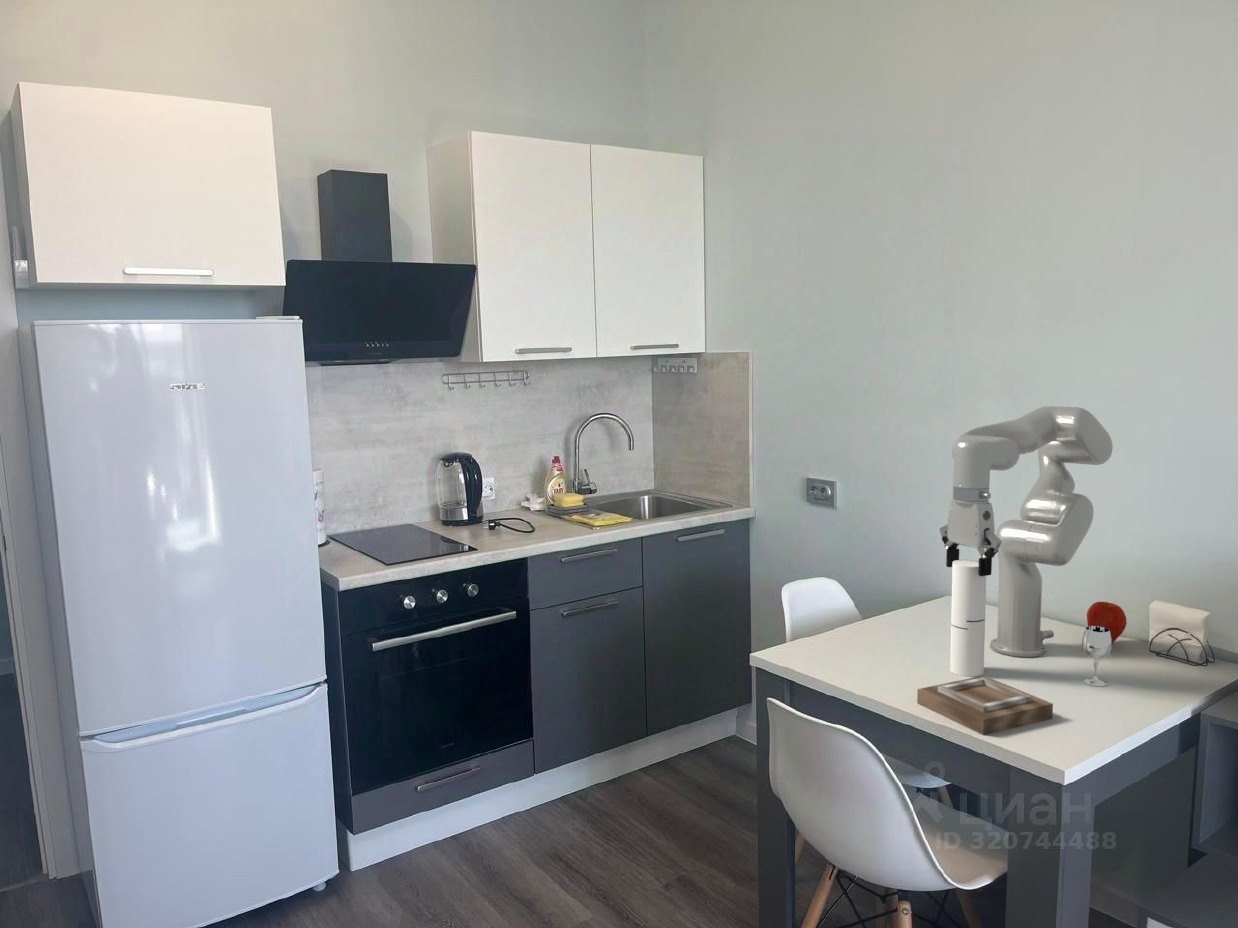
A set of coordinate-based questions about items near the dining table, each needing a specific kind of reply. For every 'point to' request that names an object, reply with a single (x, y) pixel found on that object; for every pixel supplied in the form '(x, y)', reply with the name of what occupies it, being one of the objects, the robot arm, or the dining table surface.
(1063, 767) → the dining table surface
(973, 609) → the cylindrical container
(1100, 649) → the wineglass
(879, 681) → the dining table surface
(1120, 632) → the apple
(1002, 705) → the walnut base
